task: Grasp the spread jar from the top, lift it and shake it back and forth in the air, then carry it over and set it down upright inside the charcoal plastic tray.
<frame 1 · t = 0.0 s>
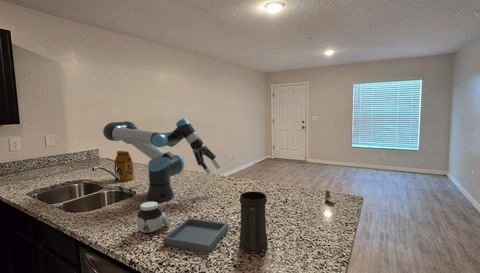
hand: (214, 170, 152), 15 cm above the worktop, tool tilted 35°, fingers open, 13 cm apart
spread jar: (155, 229, 110), on the worktop
architectural model: (327, 203, 141), on the worktop
coffee package: (125, 180, 191), on the worktop
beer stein: (254, 249, 93), on the worktop
tray: (197, 237, 103), on the worktop
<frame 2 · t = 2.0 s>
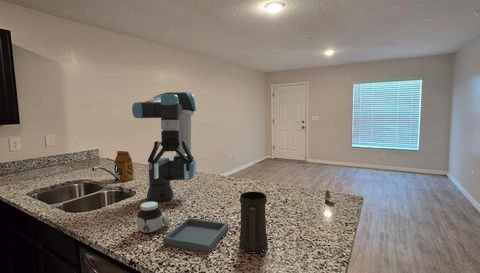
hand: (171, 178, 112), 21 cm above the worktop, tool pointing down, fingers open, 13 cm apart
nothing on the worktop moved.
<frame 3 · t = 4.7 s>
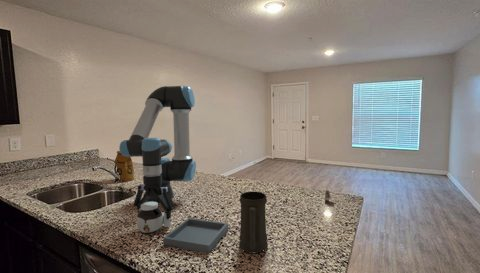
hand: (154, 224, 110), 2 cm above the worktop, tool pointing down, fingers closed on spread jar, 12 cm apart
spread jar: (155, 229, 110), on the worktop, touching gripper
everything else where it was.
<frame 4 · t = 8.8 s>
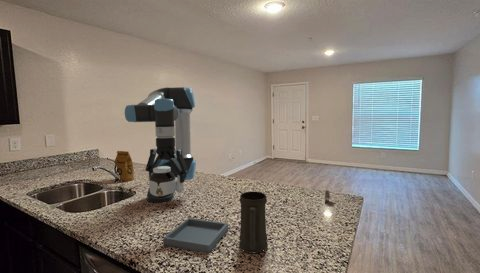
hand: (167, 189, 106), 18 cm above the worktop, tool pointing down, fingers closed on spread jar, 12 cm apart
spread jar: (167, 195, 106), point 16 cm above the worktop, touching gripper
everything else where it was.
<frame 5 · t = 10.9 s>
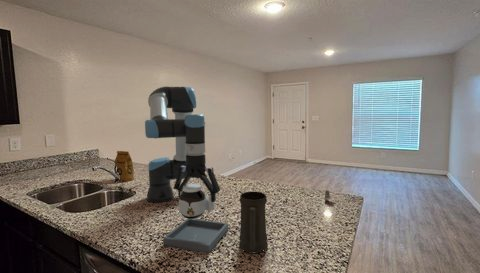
hand: (197, 208, 102), 12 cm above the worktop, tool pointing down, fingers closed on spread jar, 12 cm apart
spread jar: (197, 214, 102), point 10 cm above the worktop, touching gripper
everything else where it was.
when the fingers open (5 cm above the worktop, at t = 12.9 s): spread jar drops 2 cm, resting on tray.
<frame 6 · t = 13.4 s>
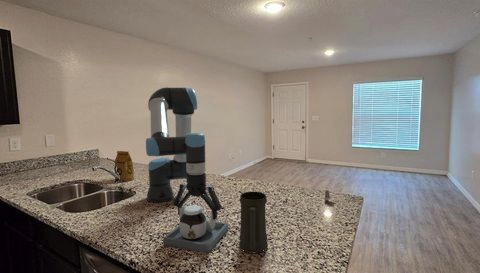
hand: (197, 224, 102), 5 cm above the worktop, tool pointing down, fingers open, 13 cm apart
spread jar: (197, 235, 103), point 1 cm above the worktop, touching tray
everything else where it was.
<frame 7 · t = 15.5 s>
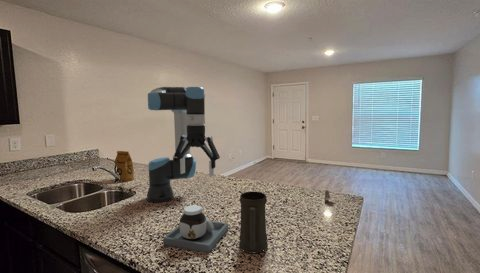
hand: (196, 174, 109), 24 cm above the worktop, tool pointing down, fingers open, 13 cm apart
nothing on the worktop moved.
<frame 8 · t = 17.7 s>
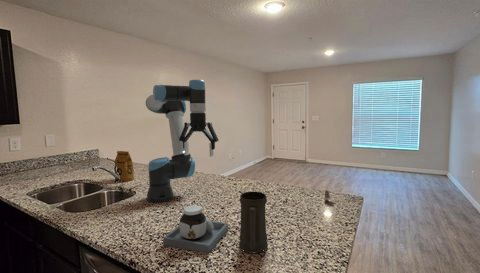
hand: (198, 155, 126), 29 cm above the worktop, tool pointing down, fingers open, 13 cm apart
nothing on the worktop moved.
at the end: spread jar inside the target area on the tray (0.3 cm from its centre), point 0.6 cm above the tray's base; spread jar tilted 0°; the gripper is holding nothing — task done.
